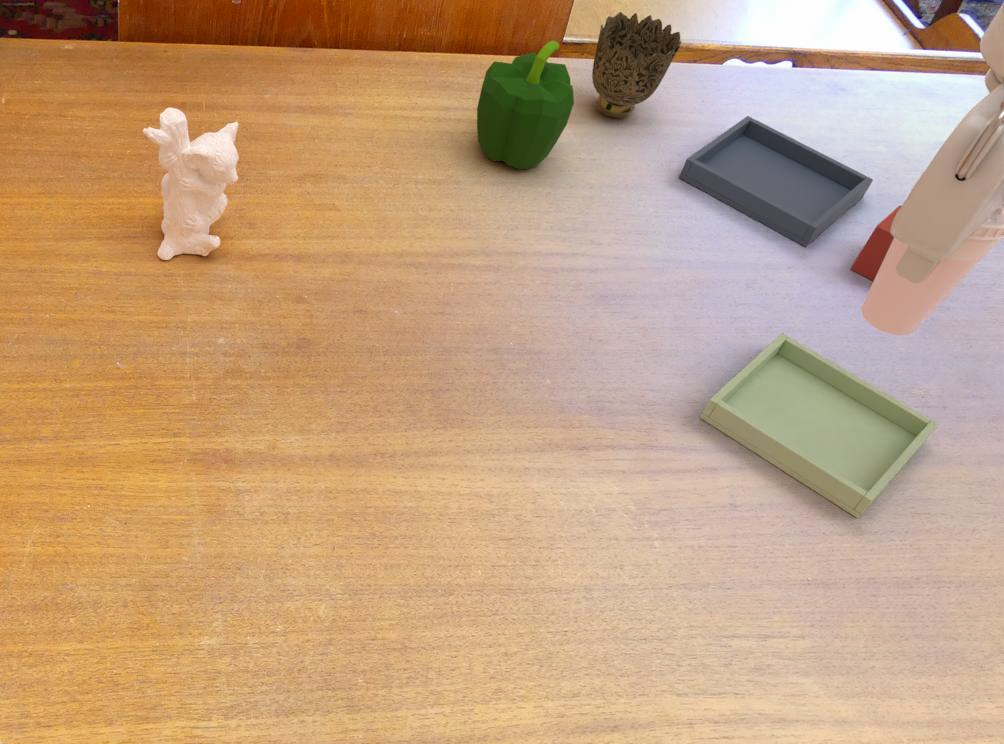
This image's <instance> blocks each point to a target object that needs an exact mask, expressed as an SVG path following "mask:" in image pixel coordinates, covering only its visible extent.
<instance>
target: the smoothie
mask: <svg viewBox="0 0 1004 744" xmlns="http://www.w3.org/2000/svg"><path fill="white" fill-rule="evenodd" d="M923 173H924V171H923V172H922V173H921V174H920V176H919V177H918V178H917V181H916V182H915V183H914V184H913V186H912V187H911V188H910V192H911V191H912V189H913V188H914V186H915V185H916V183H917V182H918V180H919V179H920V177H921V176H922V174H923ZM1003 239H1004V202H1003V203H1002V204H1001V205H1000V206H999V207H998V208H997V209H996V210H995V211H994V212H993V213H992V214H991V215H990V216H989V217H988V218H987V219H986V220H985V221H984V222H983V223H982V224H981V225H980V226H979V227H978V228H977V229H976V230H975V231H974V232H973V233H972V234H971V235H970V236H969V237H968V238H967V239H966V240H965V241H964V242H963V243H962V244H961V245H960V246H959V247H958V248H957V249H956V250H955V251H954V252H953V253H952V254H951V255H950V256H949V257H947V258H945V259H942V260H940V261H939V262H938V264H937V265H936V267H935V268H934V269H933V271H932V272H931V273H930V274H929V275H928V276H927V277H926V278H925V279H924V280H923V281H922V282H920V283H914V282H912V281H910V280H908V279H906V278H904V277H902V276H901V275H899V274H898V273H897V271H896V266H897V264H898V263H899V261H900V260H901V258H902V257H903V255H904V254H905V252H906V250H907V249H908V245H906V244H905V243H903V242H901V241H899V240H898V239H896V238H895V237H894V239H893V241H892V243H891V245H890V247H889V250H888V252H887V254H886V256H885V258H884V260H883V262H882V265H881V267H880V269H879V271H878V273H877V275H876V277H875V279H874V281H872V284H871V286H870V288H869V290H868V292H867V295H866V296H865V298H864V301H863V303H862V305H861V314H862V317H863V318H864V319H865V320H866V322H867V323H868V324H869V325H871V326H872V327H873V328H875V329H877V330H879V331H881V332H883V333H887V334H890V335H896V336H905V335H909V334H911V333H913V332H914V331H916V329H917V328H918V327H919V326H920V325H921V324H922V323H923V322H924V321H925V320H926V319H927V318H928V316H929V315H930V314H931V313H932V312H933V311H934V310H935V309H936V308H937V307H938V306H939V305H940V304H941V303H942V302H943V300H945V299H946V297H948V295H949V294H950V293H951V292H952V291H953V290H954V289H955V288H956V287H957V286H958V285H959V283H960V282H962V280H963V279H964V278H965V277H966V276H967V275H968V274H969V273H970V272H971V271H972V270H973V269H974V268H975V267H976V265H977V264H978V263H980V261H981V260H982V259H983V258H984V257H985V256H986V255H987V254H988V253H989V252H990V251H991V250H992V249H993V248H994V246H995V245H996V244H997V243H998V242H999V241H1000V240H1003Z"/></svg>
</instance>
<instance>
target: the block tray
mask: <svg viewBox="0 0 1004 744" xmlns="http://www.w3.org/2000/svg"><path fill="white" fill-rule="evenodd" d="M678 178H679V179H681V180H682V181H684V182H686V183H687V184H689V185H692V186H693V187H695V188H697V189H699V190H701V191H702V192H704V193H706V194H708V195H710V196H711V197H714V198H715V199H717V200H719V201H721V202H723V203H724V204H726V205H728V206H730V207H732V208H733V209H735V210H737V211H739V212H741V213H743V214H744V215H746V216H748V217H750V218H752V219H753V220H755V221H757V222H759V223H761V224H763V225H764V226H767V227H768V228H770V229H772V230H774V231H775V232H777V233H779V234H781V235H783V236H785V237H787V238H789V239H790V240H792V241H794V242H796V243H797V244H799V245H802V246H803V247H805V248H806V247H807V246H809V245H810V244H811V243H812V242H813V241H815V240H816V239H817V238H818V237H819V236H820V235H821V234H823V232H825V231H826V230H827V229H828V228H829V227H831V226H832V225H833V224H834V223H835V222H836V221H838V220H839V219H840V218H841V217H842V216H843V215H844V214H846V213H847V212H848V211H849V210H851V208H853V207H854V206H855V205H856V204H858V202H860V201H861V200H862V199H863V198H864V196H865V195H866V193H867V191H868V189H869V188H870V186H871V184H872V183H873V181H874V179H873V178H871V177H869V176H867V175H865V174H863V173H861V172H859V171H857V170H856V169H854V168H851V167H849V165H846V164H844V163H842V162H841V161H840V162H839V160H835V158H832V157H831V156H828V155H826V154H824V153H822V152H820V151H818V150H816V149H814V148H812V147H810V146H809V145H806V144H804V143H802V142H801V141H799V140H796V139H795V138H792V137H791V136H789V135H786V134H785V133H782V132H781V131H778V130H777V129H775V128H773V127H771V126H768V125H767V124H765V123H763V122H761V121H759V120H757V119H755V118H753V117H751V116H749V115H747V116H745V117H744V118H742V119H741V120H740V121H737V123H736V124H734V125H733V126H731V127H730V128H728V129H727V130H726V131H724V132H723V133H721V134H720V135H719V136H717V137H716V138H714V139H713V140H711V141H710V142H709V143H707V144H706V145H704V146H703V147H702V148H700V149H698V150H697V151H696V152H694V153H693V154H692V155H690V156H689V157H688V158H686V160H685V162H684V165H683V167H682V169H681V171H680V174H679V176H678Z"/></svg>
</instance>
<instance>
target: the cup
mask: <svg viewBox="0 0 1004 744" xmlns="http://www.w3.org/2000/svg"><path fill="white" fill-rule="evenodd" d="M672 28H673V27H672V24H667V25H666V26H664V28H663V22H662V20H661V19H660V18H657V19H653V17H652V15H651V14H650V15H647V16H646V17H645V18H643V19H641V20H640V21H639V17H638V14H637V12H635V13H633V15H631V17H630V18H629V17H628V16H627V15H626V14H624V13H623V12H622V11H619V12H617V13H616V14H615V15H614V16H613V17H612V16H610V15H609V16H607V18H606V19H605V24H604V26H603V24H601V25H600V29H599V35H598V39H597V44H596V49H595V54H594V58H593V64H592V73H591V74H592V75H591V76H592V83H593V86H594V89H595V91H596V92H597V94H598V96H597V99H596V105H597V108H598V110H599V112H600V113H602V114H603V115H605V116H607V117H609V118H612V119H623V118H626V117H629V116H630V115H631V114H632V113H633V112H634V110H635V109H636V105H638V104H641V103H643V102H645V101H646V100H648V99H649V98H650V97H652V95H654V93H655V92H656V90H657V89H658V88H659V86H660V84H661V82H662V81H663V79H664V77H665V75H666V73H667V72H668V69H669V67H670V66H671V64H672V62H673V60H674V58H675V57H676V55H677V52H678V51H679V49H680V47H681V45H682V40H681V32H680V31H676V32H672Z"/></svg>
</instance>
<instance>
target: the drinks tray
mask: <svg viewBox="0 0 1004 744" xmlns="http://www.w3.org/2000/svg"><path fill="white" fill-rule="evenodd" d="M699 419H701V420H702V421H704V422H705V423H707V424H709V425H710V426H712V427H713V428H715V429H717V430H718V431H720V432H721V433H723V434H724V435H726V436H728V437H729V438H731V439H732V440H734V441H735V442H737V443H739V444H740V445H742V446H744V447H745V448H747V449H748V450H749V451H751V452H752V453H755V454H756V455H758V456H760V457H761V458H762V459H764V460H765V461H767V462H768V463H770V464H772V465H773V466H775V467H777V468H778V469H780V470H781V471H782V472H784V473H786V474H787V475H789V476H791V477H792V478H794V479H795V480H797V481H798V482H800V483H801V484H803V485H804V486H806V487H808V488H809V489H811V490H812V491H814V492H815V493H817V494H819V495H820V496H822V497H823V498H825V499H826V500H828V501H830V502H831V503H833V504H834V505H836V506H837V507H839V508H840V509H842V510H844V511H845V512H847V513H849V514H850V515H852V516H853V517H855V518H856V519H859V518H860V516H862V515H863V513H864V512H865V511H866V510H867V509H868V508H869V506H870V505H871V504H872V503H873V502H874V500H876V499H877V497H879V495H880V494H881V493H882V491H884V489H885V488H886V487H887V486H888V485H889V484H890V482H892V480H893V479H894V478H895V476H896V475H897V474H898V473H899V472H900V471H901V469H902V468H904V466H905V465H906V464H907V463H908V461H909V460H910V459H911V458H912V457H913V456H914V455H915V454H916V453H917V451H918V450H919V449H921V446H922V445H923V444H924V443H925V442H926V441H927V440H928V438H929V437H930V436H931V435H932V433H933V432H934V431H935V430H936V429H937V427H938V426H939V424H938V422H936V421H934V420H932V419H931V418H929V417H927V416H925V415H924V414H922V413H920V412H918V411H917V410H915V409H914V408H912V407H910V406H908V405H907V404H905V403H903V402H901V401H900V400H898V399H896V398H895V397H893V396H891V395H889V394H887V393H886V392H884V391H883V390H881V389H880V388H878V387H876V386H874V385H873V384H871V383H870V382H867V381H866V380H865V379H862V378H860V377H859V376H857V375H856V374H854V373H853V372H850V371H848V370H847V369H845V368H843V367H841V366H840V365H839V364H836V363H835V362H833V361H831V360H830V359H828V358H826V357H825V356H823V355H822V354H819V353H818V352H816V351H814V350H812V349H811V348H810V347H807V346H806V345H804V344H803V343H800V342H799V341H797V340H795V339H794V338H792V337H790V336H789V335H787V334H786V333H784V332H782V333H780V335H778V336H777V337H776V338H775V339H774V340H773V341H772V342H771V343H770V344H768V346H766V347H765V348H764V349H763V350H762V351H761V352H759V354H758V355H756V356H755V357H754V358H753V359H752V360H751V361H750V362H748V364H747V365H746V366H745V367H743V368H742V369H741V370H740V371H739V372H738V373H736V375H734V377H733V378H732V379H730V380H729V381H728V382H727V383H725V385H723V386H722V388H720V389H719V390H718V391H717V392H716V393H715V394H714V395H713V396H711V397H710V399H709V400H708V402H707V404H706V405H705V407H704V409H703V411H702V412H701V414H700V416H699Z"/></svg>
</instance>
